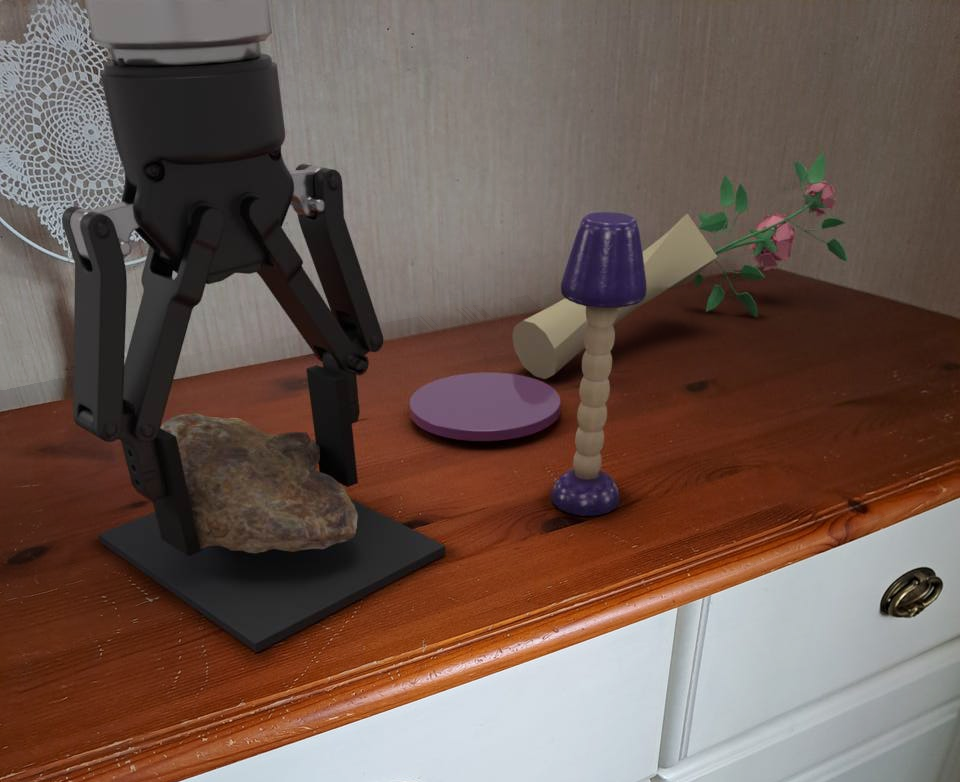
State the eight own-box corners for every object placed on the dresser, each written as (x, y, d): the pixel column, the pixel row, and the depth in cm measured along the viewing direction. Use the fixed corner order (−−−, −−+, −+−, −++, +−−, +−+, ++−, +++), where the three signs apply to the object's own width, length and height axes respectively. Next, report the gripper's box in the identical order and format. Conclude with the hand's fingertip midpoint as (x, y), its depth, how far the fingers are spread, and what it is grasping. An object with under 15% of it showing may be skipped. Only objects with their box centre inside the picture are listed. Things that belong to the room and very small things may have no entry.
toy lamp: (623, 484, 62) (644, 205, 52) (633, 519, 58) (659, 226, 49) (548, 485, 62) (556, 207, 52) (554, 521, 58) (564, 228, 49)
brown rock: (199, 584, 49) (180, 497, 46) (148, 484, 58) (129, 406, 55) (373, 538, 53) (365, 454, 50) (300, 450, 62) (289, 375, 59)
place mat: (100, 542, 57) (97, 533, 57) (280, 470, 65) (279, 462, 64) (256, 653, 48) (254, 643, 48) (445, 554, 56) (445, 545, 55)
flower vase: (524, 445, 85) (765, 274, 99) (622, 450, 75) (874, 260, 89) (473, 316, 79) (735, 154, 93) (572, 304, 70) (848, 125, 83)
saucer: (379, 419, 71) (378, 401, 70) (484, 378, 78) (483, 361, 77) (486, 464, 65) (486, 444, 64) (591, 415, 71) (592, 397, 70)
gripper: (-43, 84, 33) (113, 618, 46) (437, 36, 46) (453, 464, 59) (-120, 71, 38) (42, 562, 51) (338, 30, 50) (373, 430, 64)
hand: (264, 509), depth 55 cm, fingers closed on brown rock, 10 cm apart
